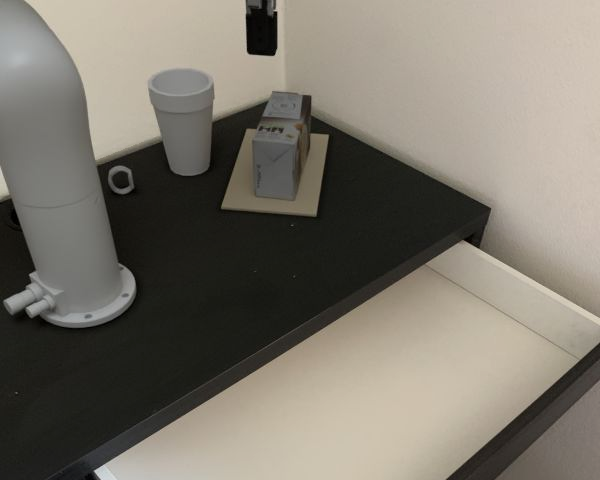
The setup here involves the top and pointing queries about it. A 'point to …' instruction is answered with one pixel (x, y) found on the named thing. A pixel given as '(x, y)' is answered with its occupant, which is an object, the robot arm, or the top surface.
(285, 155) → the coffee box
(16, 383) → the top surface
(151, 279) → the top surface
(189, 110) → the foam cup
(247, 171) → the mat
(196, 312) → the top surface
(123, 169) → the grey ring
